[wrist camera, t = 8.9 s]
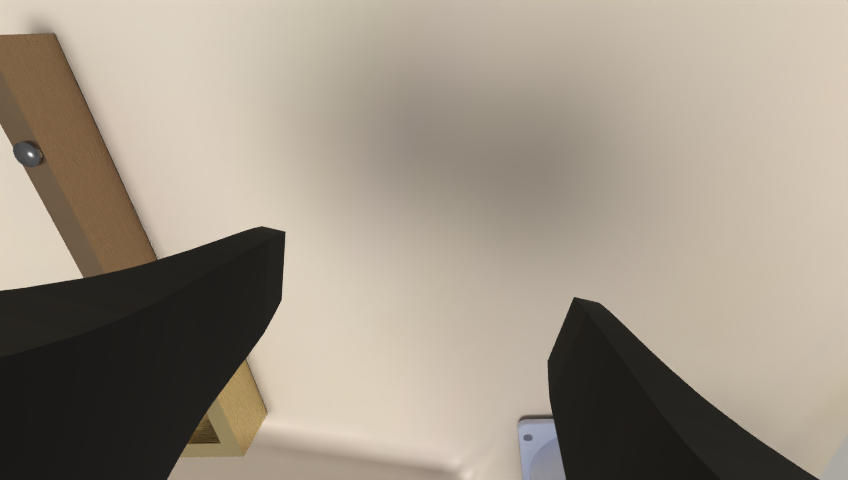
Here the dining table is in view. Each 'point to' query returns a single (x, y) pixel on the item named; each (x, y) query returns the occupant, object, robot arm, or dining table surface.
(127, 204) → the hinge
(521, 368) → the dining table surface
